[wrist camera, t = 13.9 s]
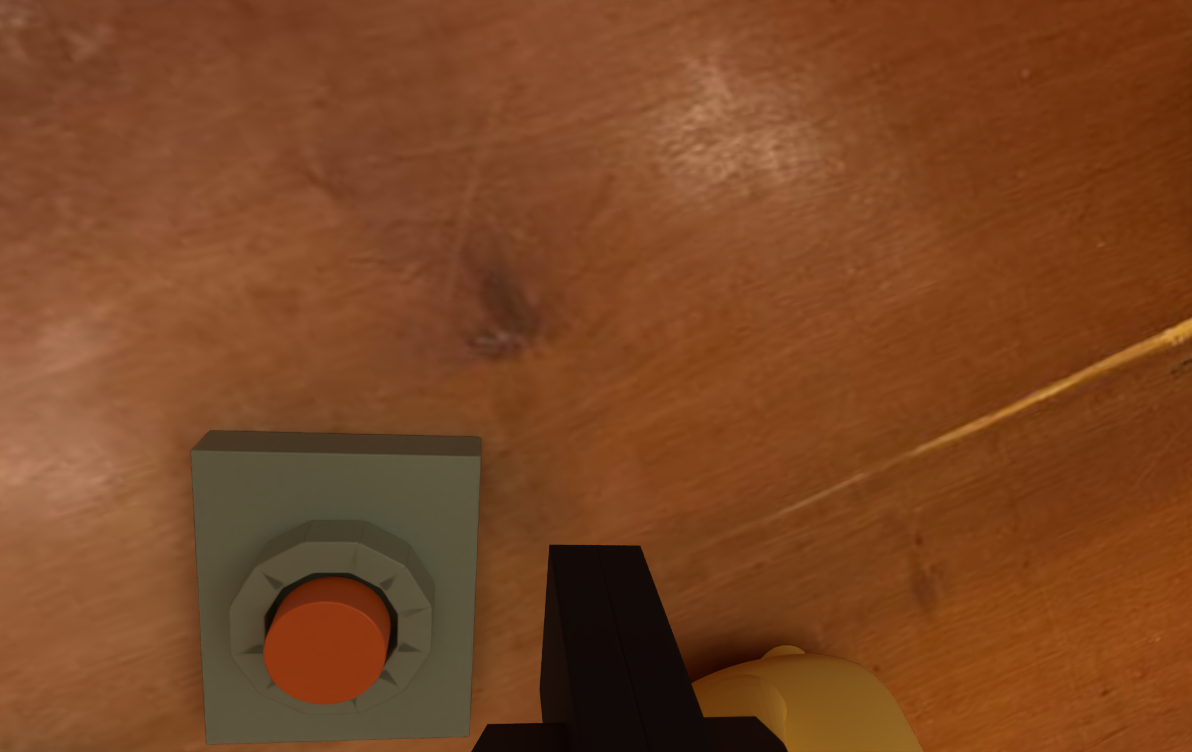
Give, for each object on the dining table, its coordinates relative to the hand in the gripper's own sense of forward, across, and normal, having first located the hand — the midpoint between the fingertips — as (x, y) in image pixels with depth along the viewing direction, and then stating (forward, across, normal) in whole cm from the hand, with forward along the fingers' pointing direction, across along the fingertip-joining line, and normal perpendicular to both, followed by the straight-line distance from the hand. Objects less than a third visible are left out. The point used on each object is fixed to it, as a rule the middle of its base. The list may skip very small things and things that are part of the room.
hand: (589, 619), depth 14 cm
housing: (+19, -7, -10) cm, 22 cm away
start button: (+15, -7, -10) cm, 19 cm away
